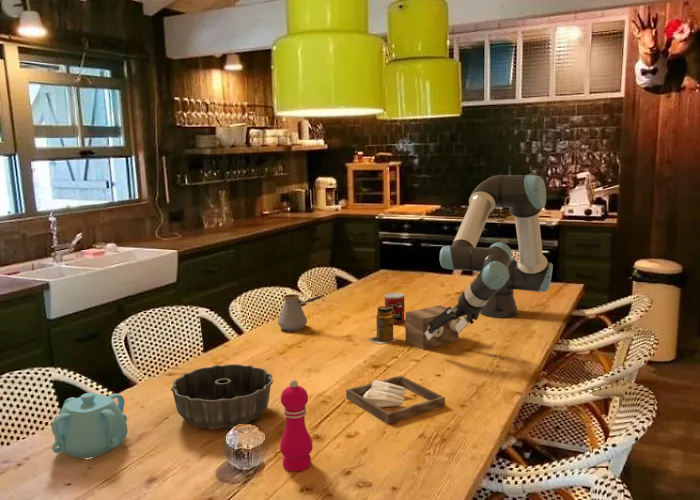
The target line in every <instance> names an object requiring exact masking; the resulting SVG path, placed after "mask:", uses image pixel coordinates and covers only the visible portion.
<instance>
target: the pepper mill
mask: <svg viewBox="0 0 700 500" xmlns="http://www.w3.org/2000/svg"><path fill="white" fill-rule="evenodd" d="M308 401H309V395H308V392H307V390H306V389H305V388H304V387H303V386H301V385H299V381H298V380H295V379H291V380H290V382H289V386H287V387H285V388H284V389H283V390H282V392H281V395H280V403H281V405H282V406H283V416H284V417H285V426H284V427H285V428H284V431H283V434H282V437H281V439H280V442H279V443H280V445H279V450H280V454H282V455H283V456H282V467H283V468H284V469H285V470H286V469H287V471H289V470H290V471H289V472H294V471H296V472H301V471H302V470H303V471H305V470H307V469H309V468H310V467H311V465H312V456H311V455H310V454H311V452H312V450H313V447H314V446H313V440H312V437H311V434H310V433H309V432H308V429H307V427H306V422H305V421H306V420H305V416H306V414H307V407H306V406H307V404H308ZM309 466H310V467H309ZM308 467H309V468H308Z"/></svg>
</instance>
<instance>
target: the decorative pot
mask: <svg viewBox="0 0 700 500" xmlns="http://www.w3.org/2000/svg"><path fill="white" fill-rule="evenodd" d="M114 399H116V400H117V402H116V401H115V400H114ZM124 408H125V399H124V397H123V395H122V394H119V393H111V394H109V395H108V396H107V395H105V394H98V393H94V392H87V393H83V394H82V395H80V396H79V397H73V396H72V397H69V398H67V399H65V400H64V402H63V405H62V408H61V409H60V412H59V415H57V416H56V417H55V418H54V419H52V422H51V431H52V434H53V436H54V443H53V444H52V446H51V450H52V452H53V453H55V454H60V453H63V452H64V454H66V455H68V456H70V457H74V458H80V459H83V458H90V457H94V458H96V457H99V456H100V455H103V454H105V453H108V452H110V451H112V450H114V449H115V448H117V447H119V446H120V445H122V444H123V442H124V441H125V439H126V438H127V436H128V433H129V432H128V425H127V420H128V417H127V415H126V414H125V413H124ZM57 447H58V448H57Z"/></svg>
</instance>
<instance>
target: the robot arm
mask: <svg viewBox="0 0 700 500" xmlns="http://www.w3.org/2000/svg"><path fill="white" fill-rule="evenodd" d="M546 203H547V188H546V184H545V180H544V179H543V178H542V177H541V176H540V175H534V174H533V175H532V174H527V175H520V174H519V175H518V174H517V175H516V174H515V175H513V174H511V175H510V174H509V175H507V174H498V175H493V176H490V177H488V178H487V179H485V180H483V181H482V182H481V183H479V184H478V185H477V186H476V187H475V188H474V190H473V191H472V192H471V194H470V197H469V199H468V204H469V205H468V208H467V210H466V212H465V215H464V217H463V219H462V221H461V223H460V226H459V228H458V230H457V233H456V235H455V237H454V239H453V240H452V241H453V242H452V244H451V245H444V246H442V247H441V249H440V251H439V263H440V266H441V268H443V269H446V270H452V271H467V272H468V271H469V272H471V271H472V272H479V273H478V275H477V276H476V277H475V278H474V279H473V280H472V282H470V284H469V285H468V286H467V287H466V288H465V290H464V291H463V292H462V293H461V294H460V295H459V297H458V299H457V304H456V305H455V306H453V308H452V306H448V307H447V309H446V310H445V311H444V312H442V313H441V314H440V315H438V316H437V317H436V318H434V319H433V320H431V321H430V322H429V323H428V324H429V326H430V327H429V329H428V330H427V331H426V332H425V335H426V337H427V339H428V340H430V339H431V338H432V337H433V336H434V335H435V333H436V332H437V331H438V330H439V329H438V328H440V327H442V326H443V325H445V324H447V323H448V322H450V321H452V320H456V319H458V318H460V319H461V320H460V321H459V322H458V323H457V324H456V325H455V326H454V327H455V328H456V330H457V332H458V334H459V333H460V334H461V332H463V330H464V329H465V328H466V327H467V326H468V325H469V324H471V325H472V324H474V321H476V320H478V319H479V316H480V314H481V315H483V316H486V317H491V318H510V317H514V316H517V314H518V306H517V303H516V300H515V297H514V296H515V295H514V290H516V291H528V292H536V293H540V292H543V293H544V292H545V293H546V292H548V291H549V289H550V285H551V282H552V281H551V280H552V275H553V268H554V264H553V263H552V262H548V259H547V257H546V256H545V255H543V244H542V235H541V224H540V216H539V215H540V213H541V212H542V209H543V208H544V207H545V206H546ZM495 208H508V209H509V213H510V215H511V216H513V217H514V222H515V229H516V238H517V243H518V244H517V245H518V251H519V252H518V254H519V258H518V259H517V260H515V259H516V258H515V257H514V256H513V252H512V249H511V247H510V246H509V245H507V244H506V243H505V242H504V243H503V242H501V241H500V242H498V241H497V242H494V243H492V244H491V245H490V246H489V247H488V248H487V247H486V248H485V247H477V245H478V243H479V240H480V238H481V235H482V233H483V230H484V227H485V225H486V223H487V221H488V218H489V215H490V213H492V212H493V211H494V210H495ZM454 313H455V315H456V317H455V316H454V315H453V314H454Z"/></svg>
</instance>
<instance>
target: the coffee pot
mask: <svg viewBox="0 0 700 500" xmlns="http://www.w3.org/2000/svg"><path fill="white" fill-rule="evenodd" d="M300 297H301V296H300V295H299V294H295V293H293V294H292V293H289V294H284V295H283V296H282V298H283V300H284V303H283V306H282V309H281V310H280V314H279V317H278V320H277V324H278V326H279V327H280V328H282V330H284V331H288V332H296V331H300V330H302V329H303V328H304V327H305V326H306V325H307V323H308V319H307V316H306V314H305V312H304V310H303V308H302V307H301V306H302V305H304V304H306V303H311V302H315V301H317V300H319V299H322V301H324V300H327V297H326V296H325V295H324V294H320V295H317V296H315V297H311V298H309V299H306V300H304V301H301V302H299V299H300ZM323 298H325V299H323Z"/></svg>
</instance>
